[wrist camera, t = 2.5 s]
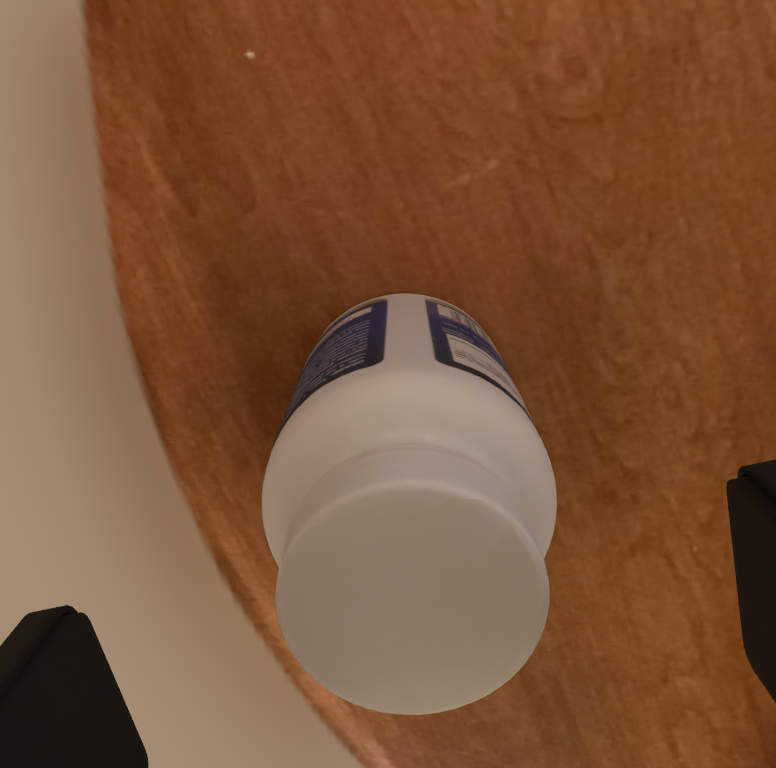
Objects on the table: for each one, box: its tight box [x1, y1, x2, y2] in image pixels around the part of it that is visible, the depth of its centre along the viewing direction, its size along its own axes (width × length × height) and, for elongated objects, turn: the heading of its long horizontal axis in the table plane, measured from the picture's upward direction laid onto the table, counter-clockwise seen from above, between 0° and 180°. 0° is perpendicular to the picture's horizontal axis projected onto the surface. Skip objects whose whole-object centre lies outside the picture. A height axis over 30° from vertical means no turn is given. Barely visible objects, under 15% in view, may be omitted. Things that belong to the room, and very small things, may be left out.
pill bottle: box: [262, 293, 557, 715], centre depth 15 cm, size 5×5×10 cm
